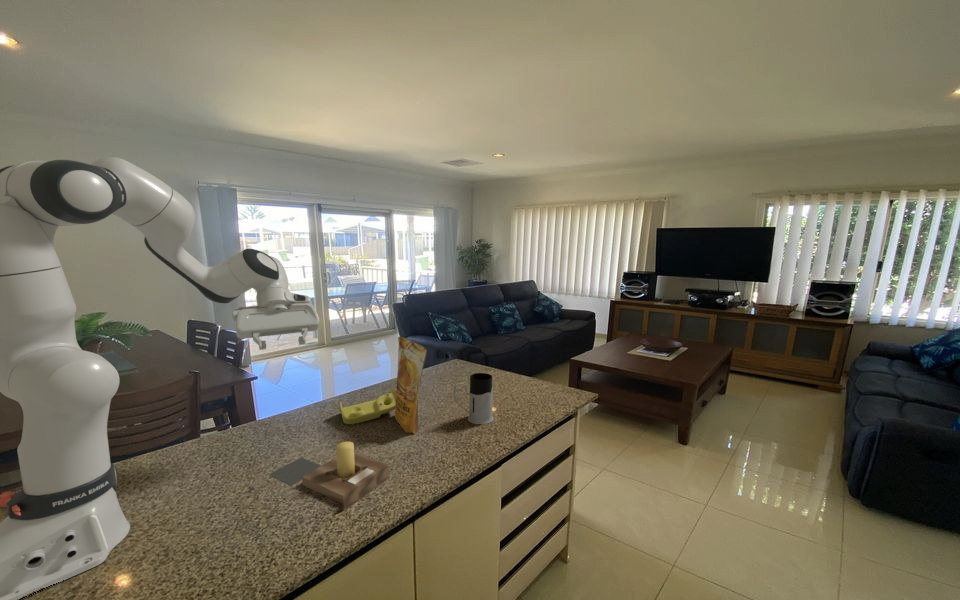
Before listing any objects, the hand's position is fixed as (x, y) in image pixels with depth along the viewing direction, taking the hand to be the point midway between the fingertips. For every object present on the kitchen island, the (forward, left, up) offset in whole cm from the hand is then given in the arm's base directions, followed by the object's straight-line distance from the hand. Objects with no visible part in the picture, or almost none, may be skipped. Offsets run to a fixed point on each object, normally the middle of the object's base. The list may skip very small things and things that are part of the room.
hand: (283, 345), depth 100 cm
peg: (-1, -23, -31) cm, 39 cm away
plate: (-5, -10, -31) cm, 33 cm away
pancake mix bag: (+32, -15, -32) cm, 48 cm away
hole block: (-1, -23, -31) cm, 39 cm away
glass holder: (+45, -32, -32) cm, 64 cm away
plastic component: (+31, 0, -32) cm, 44 cm away
